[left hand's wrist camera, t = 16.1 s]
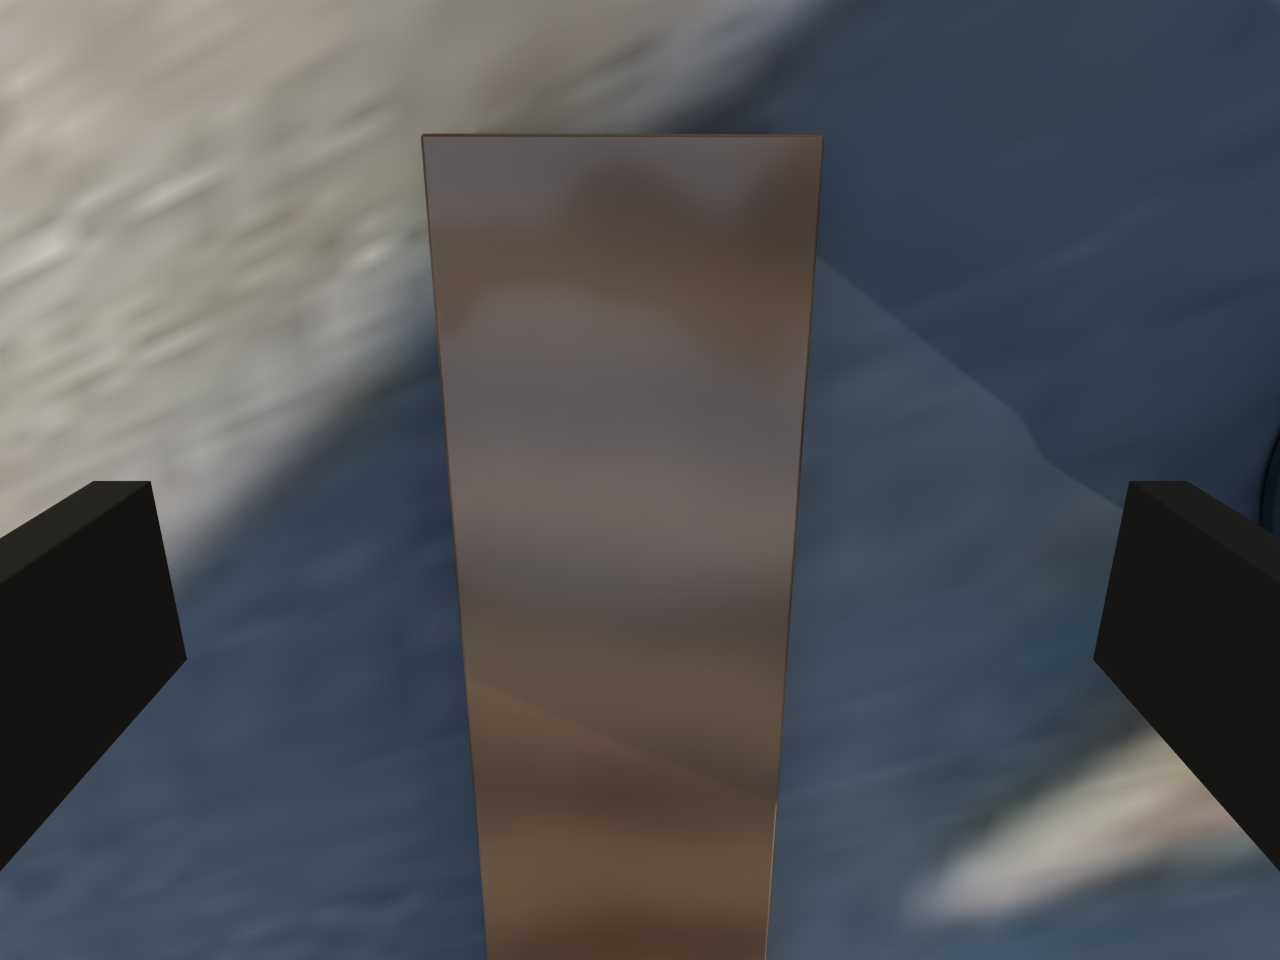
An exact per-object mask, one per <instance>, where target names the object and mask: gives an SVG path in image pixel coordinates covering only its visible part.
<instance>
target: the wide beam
mask: <svg viewBox="0 0 1280 960" xmlns="http://www.w3.org/2000/svg"><path fill="white" fill-rule="evenodd" d="M421 145H422V158H423V170H424V183H425V195H426V207H427V220H428V232H429V245H430V257H431V269H432V282H433V294H434V307H435V319H436V331H437V344H438V356H439V369H440V381H441V393H442V406H443V418H444V431H445V443H446V455H447V468H448V480H449V492H450V505H451V517H452V530H453V542H454V554H455V567H456V579H457V592H458V604H459V616H460V629H461V641H462V654H463V666H464V678H465V691H466V703H467V716H468V728H469V740H470V753H471V765H472V778H473V790H474V802H475V815H476V827H477V840H478V852H479V864H480V877H481V889H482V902H483V914H484V926H485V939H486V951H487V960H766V951H767V937H768V923H769V909H770V895H771V881H772V867H773V853H774V839H775V824H776V810H777V796H778V782H779V768H780V754H781V740H782V726H783V712H784V698H785V683H786V669H787V655H788V641H789V627H790V613H791V599H792V585H793V571H794V556H795V542H796V528H797V514H798V500H799V486H800V472H801V458H802V444H803V429H804V415H805V401H806V387H807V373H808V359H809V345H810V331H811V317H812V303H813V288H814V274H815V260H816V246H817V232H818V218H819V204H820V190H821V176H822V161H823V147H824V136H823V135H820V134H515V133H463V134H422V135H421Z"/></svg>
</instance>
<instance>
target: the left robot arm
mask: <svg viewBox="0 0 1280 960" xmlns="http://www.w3.org/2000/svg"><path fill="white" fill-rule="evenodd" d="M186 660H187V658H186V653H185V648H184V643H183V638H182V633H181V628H180V623H179V618H178V613H177V608H176V604H175V599H174V594H173V589H172V584H171V579H170V574H169V569H168V564H167V559H166V555H165V550H164V545H163V540H162V535H161V530H160V525H159V520H158V515H157V510H156V505H155V501H154V496H153V491H152V486H151V481H93V482H91V483H90V484H88V485H86V486H85V487H83V488H81V489H80V490H78V491H77V492H75V493H73V494H72V495H70V496H68V497H67V498H65V499H64V500H62V501H60V502H59V503H57V504H55V505H54V506H52V507H51V508H49V509H47V510H46V511H44V512H42V513H41V514H39V515H38V516H36V517H34V518H33V519H31V520H29V521H28V522H26V523H25V524H23V525H21V526H20V527H18V528H16V529H15V530H13V531H12V532H10V533H8V534H7V535H5V536H3V537H2V538H0V871H1V870H2V869H3V868H4V867H5V865H6V864H7V863H8V862H9V861H10V860H11V859H12V857H13V856H14V855H15V854H16V853H17V852H18V851H19V850H20V848H21V847H22V846H23V845H24V844H25V843H26V842H27V840H28V839H29V838H30V837H31V836H32V835H33V834H34V832H35V831H36V830H37V829H38V828H39V827H40V826H41V825H42V823H43V822H44V821H45V820H46V819H47V818H48V817H49V815H50V814H51V813H52V812H53V811H54V810H55V809H56V807H57V806H58V805H59V804H60V803H61V802H62V801H63V800H64V798H65V797H66V796H67V795H68V794H69V793H70V792H71V790H72V789H73V788H74V787H75V786H76V785H77V784H78V782H79V781H80V780H81V779H82V778H83V777H84V776H85V775H86V773H87V772H88V771H89V770H90V769H91V768H92V767H93V765H94V764H95V763H96V762H97V761H98V760H99V759H100V757H101V756H102V755H103V754H104V753H105V752H106V751H107V750H108V748H109V747H110V746H111V745H112V744H113V743H114V742H115V740H116V739H117V738H118V737H119V736H120V735H121V734H122V732H123V731H124V730H125V729H126V728H127V727H128V726H129V725H130V723H131V722H132V721H133V720H134V719H135V718H136V717H137V715H138V714H139V713H140V712H141V711H142V710H143V709H144V707H145V706H146V705H147V704H148V703H149V702H150V701H151V700H152V698H153V697H154V696H155V695H156V694H157V693H158V692H159V690H160V689H161V688H162V687H163V686H164V685H165V684H166V682H167V681H168V680H169V679H170V678H171V677H172V676H173V675H174V673H175V672H176V671H177V670H178V669H179V668H180V667H181V665H182V664H183V663H184V662H185V661H186ZM1093 660H1094V661H1095V662H1096V663H1097V664H1098V665H1099V667H1100V668H1101V669H1102V670H1103V671H1104V672H1105V673H1106V675H1107V676H1108V677H1109V678H1110V679H1111V680H1112V681H1113V682H1114V684H1115V685H1116V686H1117V687H1118V688H1119V689H1120V690H1121V692H1122V693H1123V694H1124V695H1125V696H1126V697H1127V698H1128V700H1129V701H1130V702H1131V703H1132V704H1133V705H1134V706H1135V707H1136V709H1137V710H1138V711H1139V712H1140V713H1141V714H1142V715H1143V717H1144V718H1145V719H1146V720H1147V721H1148V722H1149V723H1150V725H1151V726H1152V727H1153V728H1154V729H1155V730H1156V731H1157V732H1158V734H1159V735H1160V736H1161V737H1162V738H1163V739H1164V740H1165V742H1166V743H1167V744H1168V745H1169V746H1170V747H1171V748H1172V750H1173V751H1174V752H1175V753H1176V754H1177V755H1178V756H1179V757H1180V759H1181V760H1182V761H1183V762H1184V763H1185V764H1186V765H1187V767H1188V768H1189V769H1190V770H1191V771H1192V772H1193V773H1194V775H1195V776H1196V777H1197V778H1198V779H1199V780H1200V781H1201V782H1202V784H1203V785H1204V786H1205V787H1206V788H1207V789H1208V790H1209V792H1210V793H1211V794H1212V795H1213V796H1214V797H1215V798H1216V800H1217V801H1218V802H1219V803H1220V804H1221V805H1222V806H1223V807H1224V809H1225V810H1226V811H1227V812H1228V813H1229V814H1230V815H1231V817H1232V818H1233V819H1234V820H1235V821H1236V822H1237V823H1238V825H1239V826H1240V827H1241V828H1242V829H1243V830H1244V831H1245V832H1246V834H1247V835H1248V836H1249V837H1250V838H1251V839H1252V840H1253V842H1254V843H1255V844H1256V845H1257V846H1258V847H1259V848H1260V850H1261V851H1262V852H1263V853H1264V854H1265V855H1266V856H1267V857H1268V859H1269V860H1270V861H1271V862H1272V863H1273V864H1274V865H1275V867H1276V868H1277V869H1278V870H1279V871H1280V440H1279V442H1278V445H1277V447H1276V450H1275V452H1274V455H1273V458H1272V461H1271V465H1270V468H1269V471H1268V475H1267V480H1266V485H1265V490H1264V496H1263V507H1262V527H1260V526H1259V525H1257V524H1255V523H1254V522H1252V521H1251V520H1249V519H1247V518H1246V517H1244V516H1242V515H1241V514H1239V513H1238V512H1236V511H1234V510H1233V509H1231V508H1229V507H1228V506H1226V505H1225V504H1223V503H1221V502H1220V501H1218V500H1216V499H1215V498H1213V497H1212V496H1210V495H1208V494H1207V493H1205V492H1203V491H1202V490H1200V489H1199V488H1197V487H1195V486H1194V485H1192V484H1190V483H1189V482H1187V481H1129V486H1128V491H1127V496H1126V501H1125V505H1124V510H1123V515H1122V520H1121V525H1120V530H1119V535H1118V540H1117V545H1116V550H1115V555H1114V559H1113V564H1112V569H1111V574H1110V579H1109V584H1108V589H1107V594H1106V599H1105V604H1104V608H1103V613H1102V618H1101V623H1100V628H1099V633H1098V638H1097V643H1096V648H1095V653H1094V658H1093Z"/></svg>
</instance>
